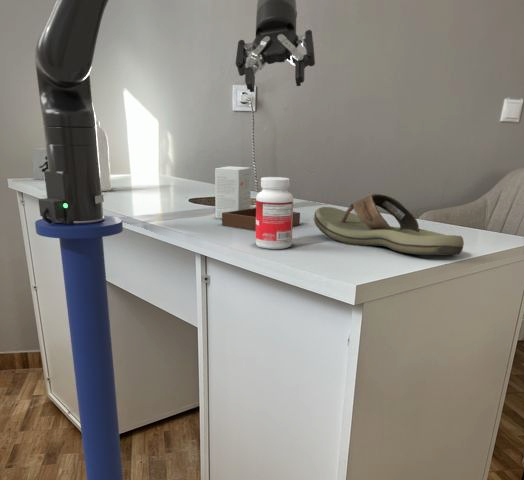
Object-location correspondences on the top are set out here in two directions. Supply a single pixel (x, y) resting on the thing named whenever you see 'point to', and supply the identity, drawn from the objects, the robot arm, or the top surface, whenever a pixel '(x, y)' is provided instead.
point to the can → (103, 157)
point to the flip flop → (384, 228)
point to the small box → (232, 189)
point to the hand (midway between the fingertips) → (274, 85)
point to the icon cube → (39, 162)
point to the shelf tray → (248, 219)
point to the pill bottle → (274, 214)
